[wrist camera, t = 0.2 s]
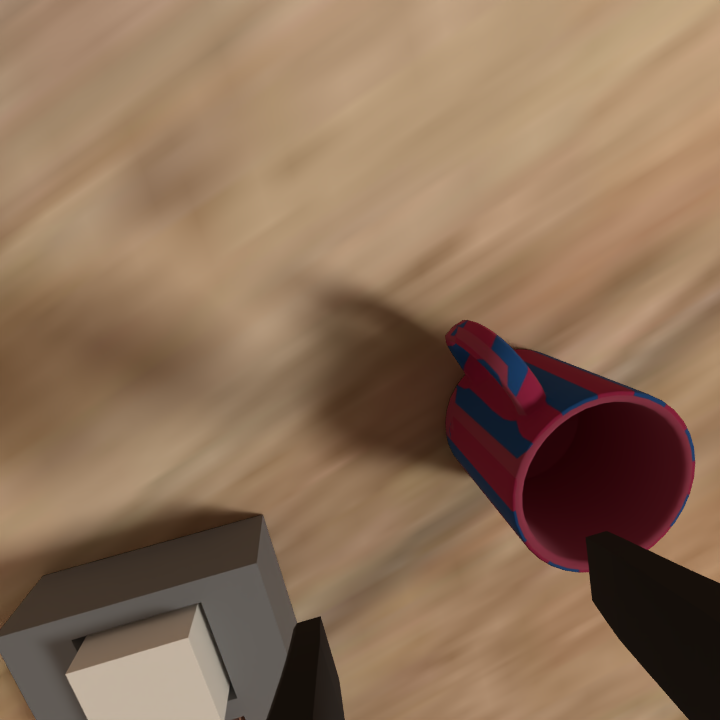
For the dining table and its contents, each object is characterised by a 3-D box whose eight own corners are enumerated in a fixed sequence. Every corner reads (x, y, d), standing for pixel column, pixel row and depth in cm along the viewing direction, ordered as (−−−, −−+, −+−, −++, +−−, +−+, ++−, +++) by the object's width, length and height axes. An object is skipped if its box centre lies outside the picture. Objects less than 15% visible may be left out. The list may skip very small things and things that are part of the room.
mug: (487, 504, 22) (566, 607, 16) (380, 346, 20) (422, 390, 13) (597, 429, 22) (723, 500, 16) (504, 260, 20) (608, 261, 13)
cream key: (231, 675, 19) (223, 726, 17) (129, 706, 19) (109, 762, 17) (200, 593, 18) (188, 637, 16) (92, 625, 18) (65, 673, 16)
